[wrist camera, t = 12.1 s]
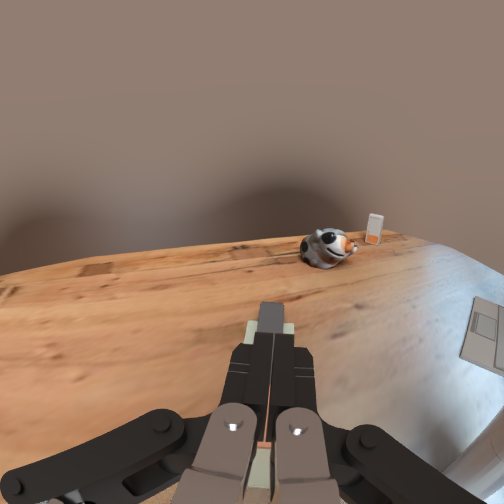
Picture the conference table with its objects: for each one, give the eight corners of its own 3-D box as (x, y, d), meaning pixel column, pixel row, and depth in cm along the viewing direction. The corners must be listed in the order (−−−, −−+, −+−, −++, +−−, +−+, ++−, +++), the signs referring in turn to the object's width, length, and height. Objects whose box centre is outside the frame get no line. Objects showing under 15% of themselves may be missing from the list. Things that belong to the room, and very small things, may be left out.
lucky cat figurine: (341, 254, 100) (362, 224, 89) (341, 283, 91) (365, 252, 80) (299, 238, 100) (316, 205, 88) (294, 266, 90) (313, 233, 79)
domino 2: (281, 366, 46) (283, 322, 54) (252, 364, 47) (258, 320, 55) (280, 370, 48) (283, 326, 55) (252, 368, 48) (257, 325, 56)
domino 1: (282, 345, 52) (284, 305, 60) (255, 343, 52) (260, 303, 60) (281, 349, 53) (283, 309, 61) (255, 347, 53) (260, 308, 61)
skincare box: (364, 242, 113) (368, 214, 109) (366, 239, 117) (370, 213, 112) (378, 245, 110) (382, 217, 106) (379, 243, 113) (384, 216, 109)
